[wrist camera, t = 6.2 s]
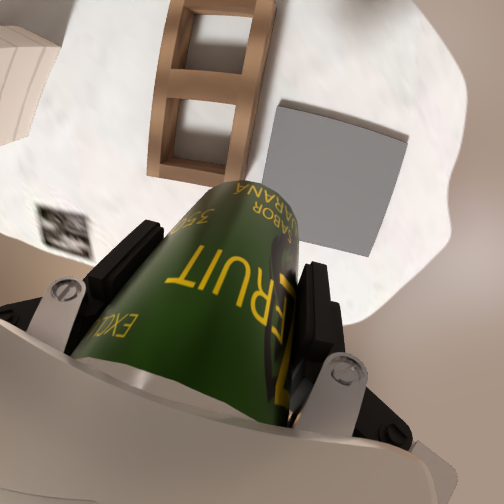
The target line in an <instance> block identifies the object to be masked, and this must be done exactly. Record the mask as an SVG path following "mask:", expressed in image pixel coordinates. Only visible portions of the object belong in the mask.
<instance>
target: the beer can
mask: <svg viewBox="0 0 504 504" xmlns="http://www.w3.org/2000/svg"><path fill="white" fill-rule="evenodd" d="M298 258H299V232H298V222H297V219H296V217H295V215H294V213H293V211H292V209H291V207H290V205H289V204H288V203H287V202H286V201H285V200H284V199H283V198H282V197H281V196H280V195H279V194H278V193H277V192H276V191H274V190H272V189H270V188H268V187H266V186H265V185H263V184H261V183H256V182H251V181H245V180H238V181H230V182H224V183H222V184H220V185H218V186H216V187H214V188H212V189H210V190H208V191H207V192H206V193H205V194H204V195H203V197H202V198H201V199H200V200H199V201H198V202H197V203H196V204H195V205H194V206H193V207H192V208H191V209H190V210H189V211H188V212H187V213H186V215H185V216H184V217H183V218H182V219H181V220H180V221H179V222H178V223H177V224H176V226H175V227H174V228H173V229H172V230H171V231H170V232H169V233H168V234H167V236H166V237H165V238H164V239H163V240H162V241H161V242H160V243H159V245H158V246H157V247H156V248H155V249H154V250H153V252H152V253H151V254H150V255H149V256H148V257H147V258H146V260H145V261H144V262H143V263H142V264H141V266H140V267H139V268H138V269H137V270H136V272H135V273H134V274H133V275H132V276H131V278H130V279H129V280H128V281H127V282H126V284H125V285H124V286H123V287H122V289H121V290H120V291H119V292H118V294H117V295H116V296H115V297H114V299H113V300H112V301H111V302H110V304H109V305H108V306H107V307H106V309H105V310H104V311H103V313H102V314H101V315H100V316H99V318H98V319H97V320H96V322H95V323H94V324H93V326H92V327H91V328H90V330H89V331H88V332H87V334H86V335H85V336H84V338H83V339H82V340H81V342H80V343H79V345H78V346H77V347H76V349H75V350H74V352H73V353H72V354H71V356H70V357H72V358H74V359H76V360H78V361H80V362H82V363H84V364H86V365H88V366H90V367H92V368H94V369H97V370H99V371H101V372H103V373H106V374H108V375H110V376H112V377H114V378H116V379H118V380H120V381H122V382H124V383H126V384H129V385H131V386H134V387H136V388H139V389H141V390H144V391H146V392H149V393H151V394H154V395H157V396H160V397H162V398H165V399H168V400H172V401H176V402H179V403H183V404H187V405H191V406H195V407H199V408H202V409H206V410H209V411H213V412H217V413H220V414H224V415H228V416H232V417H236V418H241V419H245V420H249V421H254V422H259V423H264V424H269V425H274V426H280V427H286V428H287V427H288V416H289V407H290V396H291V384H292V371H293V358H294V343H295V327H296V309H297V287H298Z"/></svg>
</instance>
